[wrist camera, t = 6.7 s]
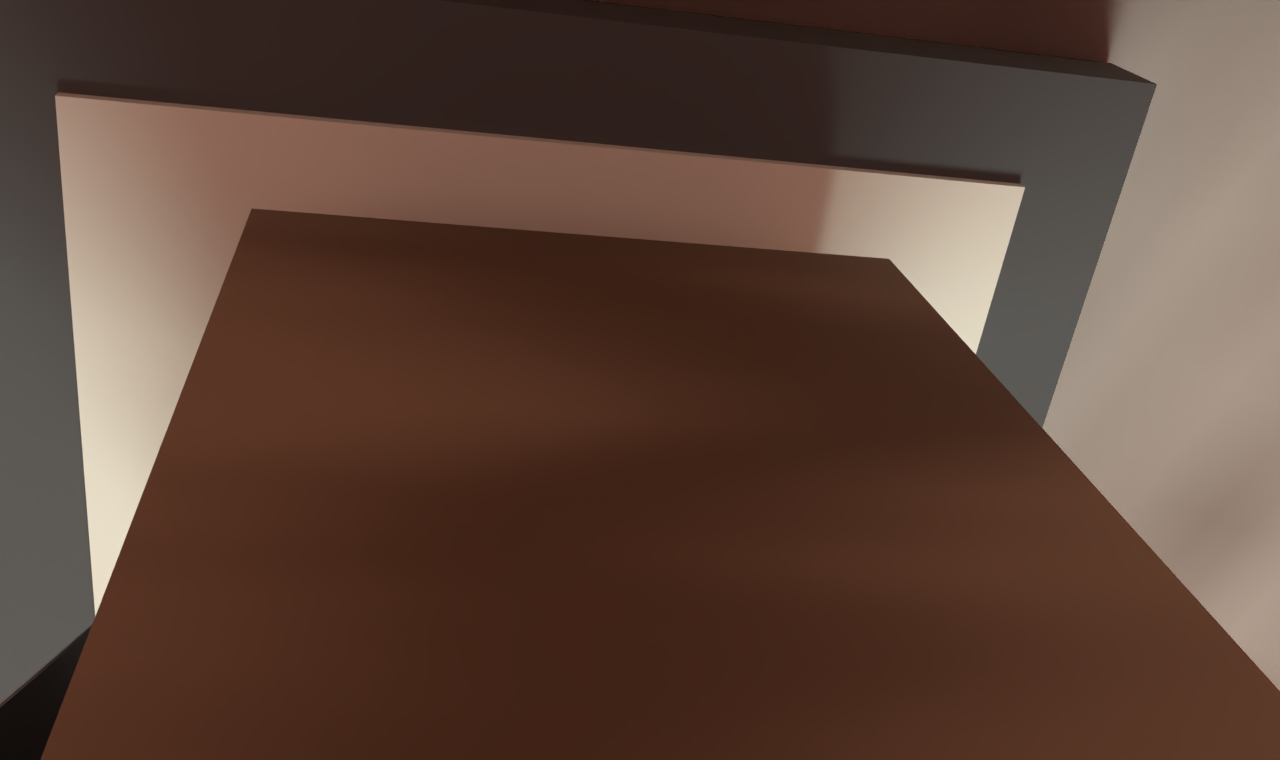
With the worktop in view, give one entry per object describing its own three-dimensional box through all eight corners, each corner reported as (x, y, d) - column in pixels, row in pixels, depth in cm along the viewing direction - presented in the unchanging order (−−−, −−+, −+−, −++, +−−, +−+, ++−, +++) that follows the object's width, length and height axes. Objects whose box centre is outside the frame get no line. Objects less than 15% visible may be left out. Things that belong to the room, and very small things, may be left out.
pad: (1110, 63, 11) (1161, 87, 10) (906, 715, 15) (933, 770, 14) (-64, -77, 9) (-112, -62, 8) (27, 718, 13) (-1, 782, 12)
